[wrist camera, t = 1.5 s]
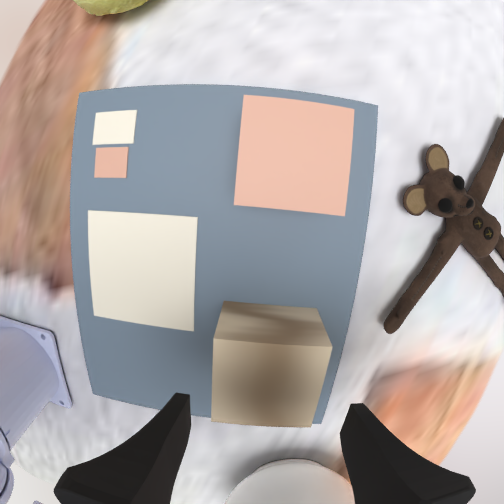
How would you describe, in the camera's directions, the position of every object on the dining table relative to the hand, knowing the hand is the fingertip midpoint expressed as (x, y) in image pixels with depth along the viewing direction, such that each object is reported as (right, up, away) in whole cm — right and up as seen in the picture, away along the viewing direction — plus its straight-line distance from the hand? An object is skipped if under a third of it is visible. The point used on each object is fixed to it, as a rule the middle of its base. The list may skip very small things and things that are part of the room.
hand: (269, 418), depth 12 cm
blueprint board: (-4, +6, +6) cm, 9 cm away
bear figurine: (+15, +9, +6) cm, 18 cm away
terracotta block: (+1, +12, +4) cm, 13 cm away
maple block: (0, +2, +6) cm, 7 cm away
